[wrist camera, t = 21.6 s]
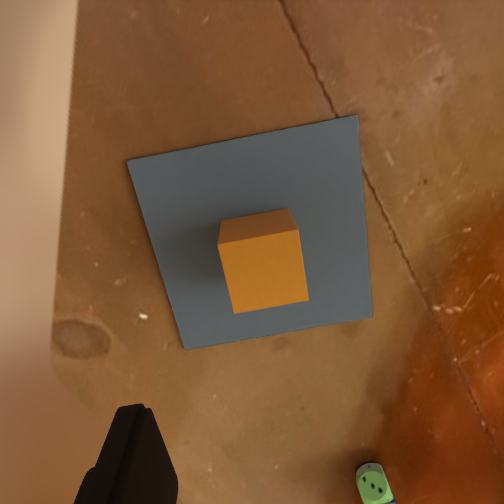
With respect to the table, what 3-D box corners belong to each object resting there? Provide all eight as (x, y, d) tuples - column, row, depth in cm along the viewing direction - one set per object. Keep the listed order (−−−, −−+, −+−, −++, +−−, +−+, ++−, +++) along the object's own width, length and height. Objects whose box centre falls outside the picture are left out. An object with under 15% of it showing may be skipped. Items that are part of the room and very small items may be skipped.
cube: (234, 280, 29) (233, 314, 24) (221, 220, 27) (217, 244, 22) (297, 269, 29) (309, 300, 24) (288, 207, 27) (298, 229, 22)
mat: (185, 347, 31) (184, 350, 31) (127, 160, 26) (125, 161, 25) (371, 314, 31) (373, 317, 30) (356, 114, 25) (357, 114, 25)
